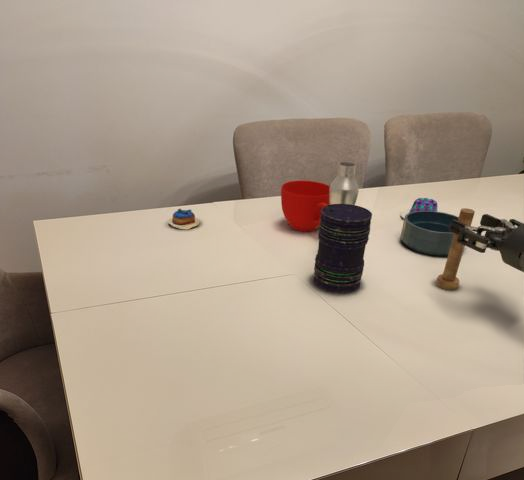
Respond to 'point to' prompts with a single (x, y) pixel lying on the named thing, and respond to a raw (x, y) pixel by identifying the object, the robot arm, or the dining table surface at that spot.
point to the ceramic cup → (304, 203)
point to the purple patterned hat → (421, 206)
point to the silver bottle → (344, 185)
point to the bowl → (428, 232)
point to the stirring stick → (454, 255)
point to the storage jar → (341, 247)
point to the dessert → (183, 219)
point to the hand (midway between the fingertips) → (466, 221)
